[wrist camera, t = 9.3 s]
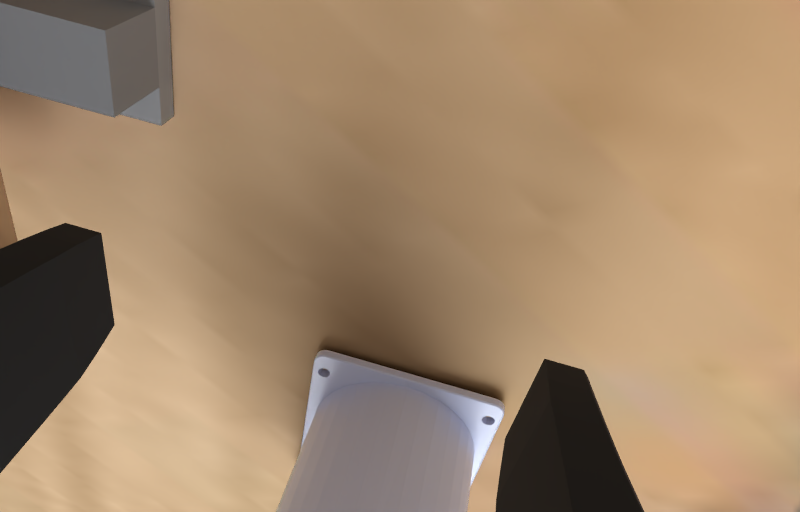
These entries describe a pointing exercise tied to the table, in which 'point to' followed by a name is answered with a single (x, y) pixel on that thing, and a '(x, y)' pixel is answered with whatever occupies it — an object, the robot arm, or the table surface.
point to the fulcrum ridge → (90, 54)
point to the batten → (5, 219)
